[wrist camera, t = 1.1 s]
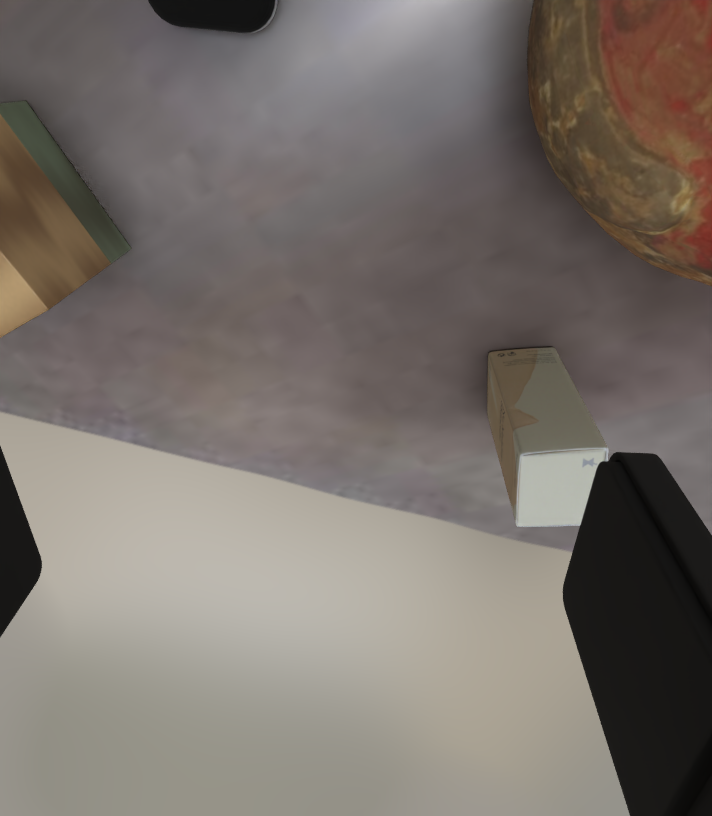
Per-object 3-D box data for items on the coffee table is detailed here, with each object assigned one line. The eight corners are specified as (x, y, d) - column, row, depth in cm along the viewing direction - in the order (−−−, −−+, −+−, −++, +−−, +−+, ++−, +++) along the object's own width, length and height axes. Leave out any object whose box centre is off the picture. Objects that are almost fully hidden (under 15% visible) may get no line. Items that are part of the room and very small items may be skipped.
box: (487, 349, 38) (519, 448, 28) (556, 345, 37) (612, 444, 28) (486, 419, 40) (515, 531, 31) (550, 415, 40) (600, 528, 30)
